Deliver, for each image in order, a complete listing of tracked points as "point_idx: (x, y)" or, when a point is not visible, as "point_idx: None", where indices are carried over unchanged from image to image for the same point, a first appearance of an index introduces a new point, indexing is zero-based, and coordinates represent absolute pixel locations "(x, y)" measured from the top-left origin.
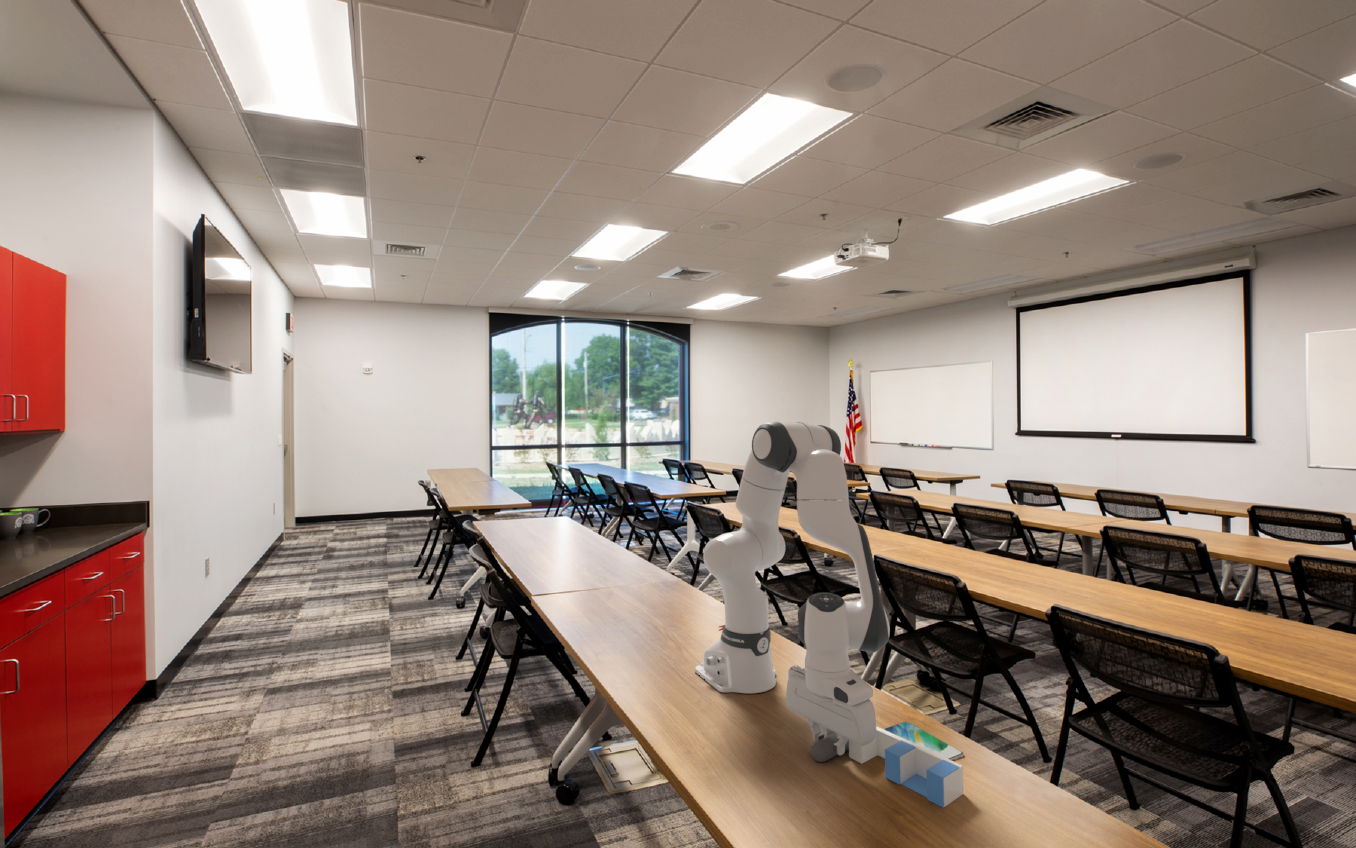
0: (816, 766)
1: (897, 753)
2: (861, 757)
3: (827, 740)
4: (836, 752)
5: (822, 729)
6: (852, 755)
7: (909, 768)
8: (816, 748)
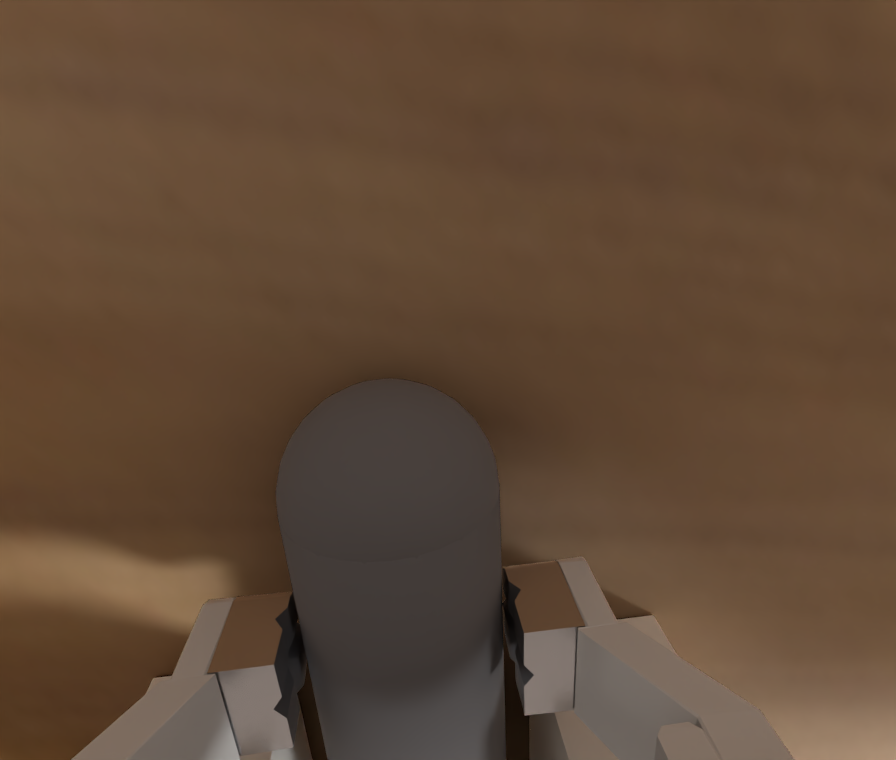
0: (327, 336)
1: None
2: None
3: (381, 663)
4: (238, 605)
5: None
6: None
7: None
8: (364, 454)
